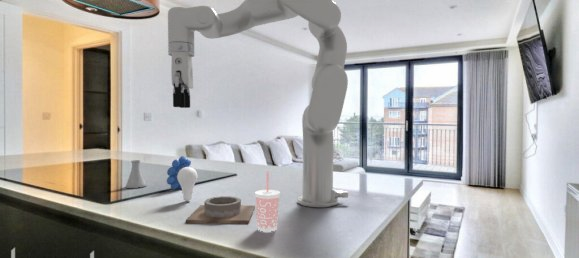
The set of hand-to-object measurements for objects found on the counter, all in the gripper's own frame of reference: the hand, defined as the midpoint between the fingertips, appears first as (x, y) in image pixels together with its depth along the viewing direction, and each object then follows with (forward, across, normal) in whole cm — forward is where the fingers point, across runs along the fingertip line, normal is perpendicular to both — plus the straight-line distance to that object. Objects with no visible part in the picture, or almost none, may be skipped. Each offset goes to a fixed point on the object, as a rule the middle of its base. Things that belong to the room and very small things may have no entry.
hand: (182, 107), depth 103 cm
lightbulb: (+30, +3, -1) cm, 30 cm away
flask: (+30, +27, +22) cm, 46 cm away
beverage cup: (+30, -26, -24) cm, 46 cm away
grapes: (+30, +22, +6) cm, 37 cm away
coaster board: (+30, -13, -13) cm, 35 cm away
